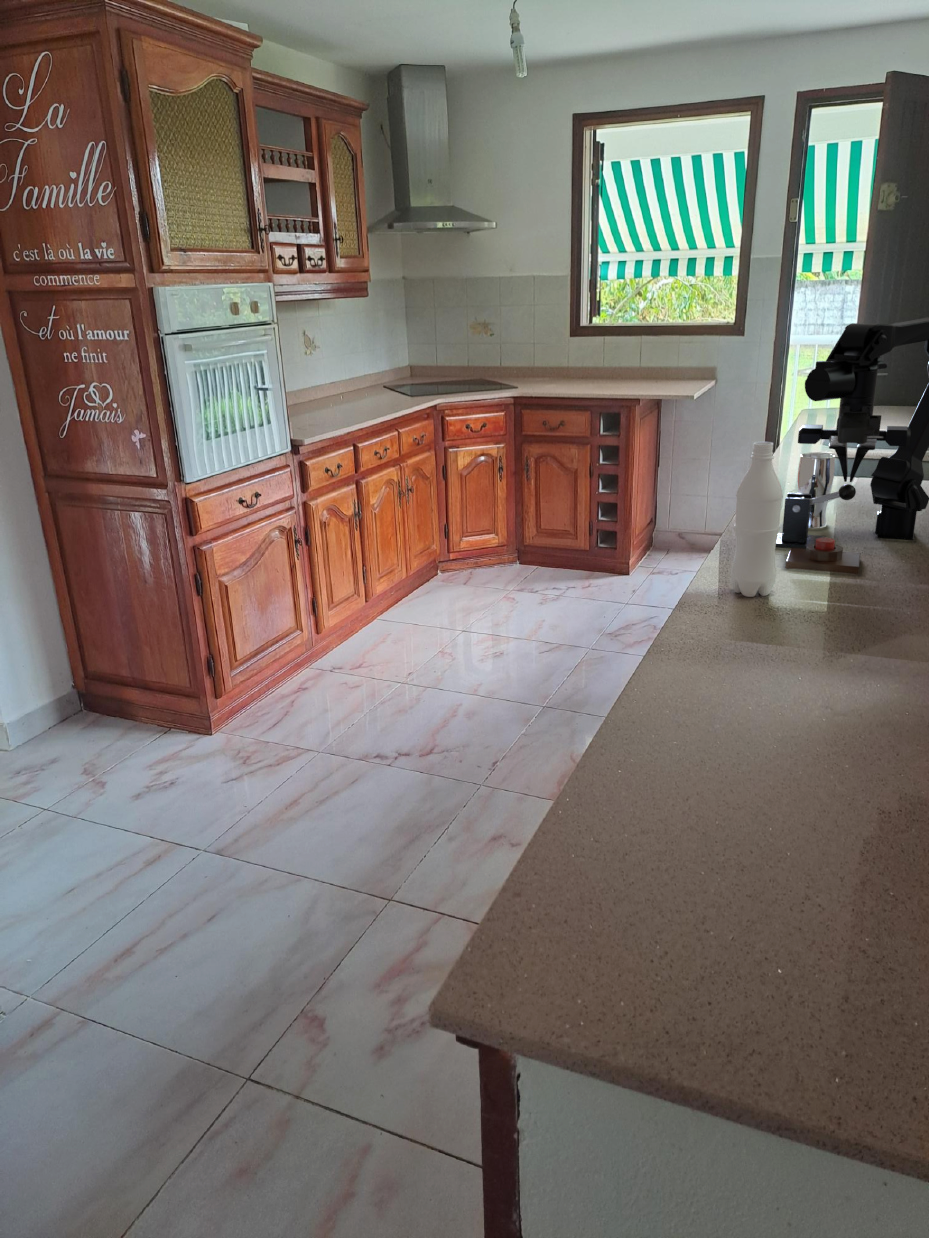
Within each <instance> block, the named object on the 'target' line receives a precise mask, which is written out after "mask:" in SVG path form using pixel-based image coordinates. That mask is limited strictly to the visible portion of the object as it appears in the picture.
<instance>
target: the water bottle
mask: <svg viewBox="0 0 929 1238" xmlns="http://www.w3.org/2000/svg"><path fill="white" fill-rule="evenodd" d="M773 448H774V442H772V441H754V442H753V445H752V452H751V455H750V457H749V458H750V460H751V462H750V466H749V468H748V469H747V472H746V473H745V474H744V476H743V477H742V480H741V481H740V483H739V485H738V487H737V490H736V494H735V497H736V502H735V520H734V524H733V529H734V536H735V549H734V551H735V552H734V557H733V560H732V565H731V569H730V583H731V587H732V588H733V591H734V592H735V593H736V594H740V593H741V595H742V596H744V597H747V598H754V597H755V596H756V595H757V593H758V594H760V596H762V597H765V596H768V595H770V593H771V592H772V590H773V588H774V586H775V584H776V580H777V566H776V547H775V546H776V540H777V536H778V533H780V532H779V531H780V529H781V524H780V521H781V512H782V499H783V497H784V493H783V488H782V484H781V482H780V480H779V478H778V475H777V473H776V472H775V469H774V465H773V460H774V458H775V456H774V452H773V450H774V449H773Z"/></svg>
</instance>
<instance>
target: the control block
mask: <svg viewBox="0 0 929 1238" xmlns="http://www.w3.org/2000/svg"><path fill="white" fill-rule="evenodd" d="M815 544H816V543H812V544H809V545H807V547H806V549H800V548H789V549H790V550H789V552H788V555H787V558H786V561H785V569H791V570H793V569H794V570H806V571H817V572H818V571H820V572H821V571H822V572H831V573H844V574H859V571H860V562H861V552H857V551H856V552H855V551H844V547H843V546H841V545H839V544H836V543H835V546H834V550H819V549H815Z"/></svg>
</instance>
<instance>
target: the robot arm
mask: <svg viewBox="0 0 929 1238" xmlns="http://www.w3.org/2000/svg"><path fill="white" fill-rule="evenodd" d="M922 342H924V348H923V350H924V352H925V353H926V355H927V356H928V357H929V315H928V316H925V317H923V318H916V319H912V320H906V321H899V322H894V323H889V324H887V323H861V322H860V323H849V324H847V325H846V326H844V330H843V332H842V333H841V335H840V337H839V338H838V339H837V342H836V343H835V345H834V346H833V348H832V350H831V351H830V353H829V355H828V356H827V358H826V359H825V360H817V361H816V362H815V368H813V369H812V370H811V371H810V372H809V373H808V375H807V376H806V379H805V380H804V391H805V394H806V396H807V397H808V399H810V400H812V401H813V402H821V401H830V400H839V409H838V417H837V418H836V419H837V420H836V428H835V429H824V424H803V425H802V426H801V427H799V430H798V434H797V435H798V436H797V444H800V445H816V444H817V443H819V442H820V441H821V440H827V441H828V442H829V444H828V449H829V450H834V452H835V453H836V456H837V458H838V461H839V464H840V468H841V474H842V478H843V481H844V483H847V482H848V481H847V480H848V476H849V466H848V465H849V464H848V444H857V446H856V451H855V455H854V459H853V462H852V466H851V470H850V476H849V483H852V482H853V481H854V478H855V476H856V474H857V471H858V470H859V468H860V465H861V464H862V461H863V459H864V458H865V456H866V455H867V454H868V452H869V451H875V450H876V443H877V442H885V443H886V444H887V445H888V446H889V447H897V448H896V450H895V452H894V453H893V454H891V455H890V456H881V457H880V458H879V460H878V462H877V465H876V467H875V469H874V470H873V472H872V473H871V475H870V477H872V478H871V480H870V484H869V486H870V490H871V496H872V502H873V504H874V505H880V507H881V508H880V510H878V511H877V514H876V522H875V529H874V533H875V535H876V537H877V539H885V540H886V539H887V540H902V541H903V540H904V541H914V540H915V527H916V519H917V515H918V514H917V512H922V511H923V510H926V509H927V507H928V504H929V495H928V494H927V492H926V491H925V490H924V488H923V487H922V483H923V480H924V479H925V478H924V477H925V474H924V473H925V472H924V467H923V466H924V465H923V461H924V458H925V457H926V456H925V455H926V454H927V451H928V449H929V383H928V384H927V386H926V388H925V390H924V392H923V394H922V396H921V399H920V401H919V402H918V404H917V407H916V409H915V411H914V413H913V415H912V417H911V420H910V421H909V423H908V425H886V429H885V430H881V423H882V415H881V414H876V415H875V414H874V408H875V400H876V399H875V398H876V391H877V381H878V373H879V370H886V369H887V368H888V364H887V363H886V362H885V361H884V360H882V358H881V357H882V356H885V355H886V354H888V353H890V352H891V351H893V349H894V348H897V347H901V346H907V345H911V344H917V343H922ZM926 367H927V374H928V377H929V362H928V363H927V366H926Z"/></svg>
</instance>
